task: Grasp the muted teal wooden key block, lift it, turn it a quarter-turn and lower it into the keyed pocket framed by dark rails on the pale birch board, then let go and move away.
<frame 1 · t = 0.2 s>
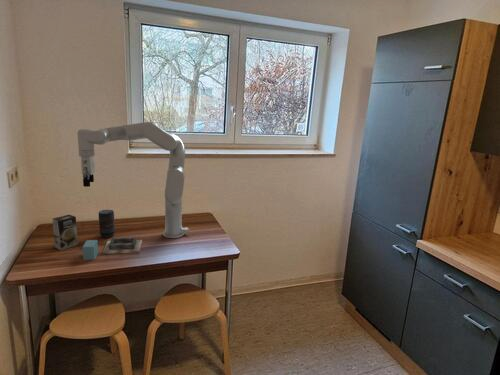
hand: (88, 184, 180), 31 cm above the table, tool pointing down, fingers open, 9 cm apart
camera lens: (107, 236, 190), on the table
keyed nest: (123, 247, 177), on the table
key block: (91, 256, 166), on the table
coffee box: (66, 246, 175), on the table
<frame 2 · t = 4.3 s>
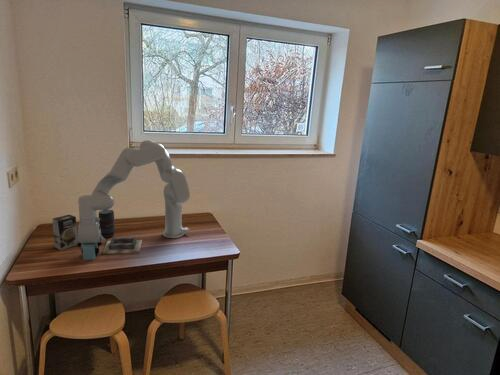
hand: (90, 254, 165), 1 cm above the table, tool pointing down, fingers closed on key block, 5 cm apart
key block: (90, 256, 166), on the table, touching gripper
everything else where it was.
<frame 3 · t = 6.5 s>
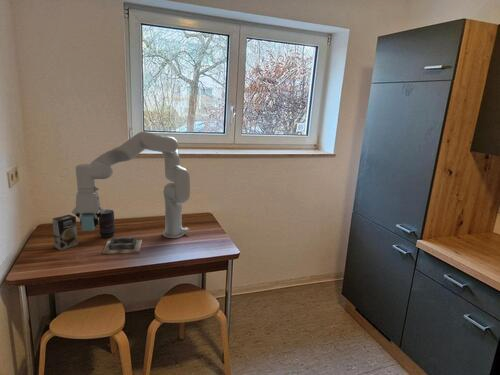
hand: (89, 225, 162), 16 cm above the table, tool pointing down, fingers closed on key block, 5 cm apart
key block: (89, 227, 162), point 15 cm above the table, touching gripper
everything else where it was.
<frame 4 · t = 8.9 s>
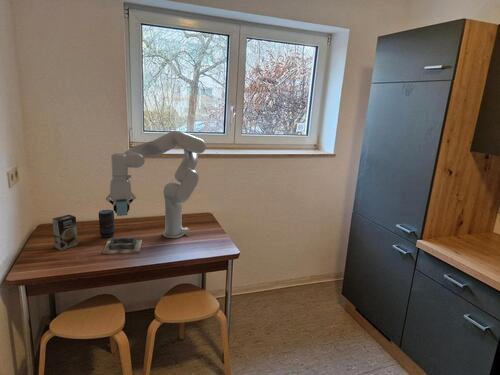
hand: (121, 211, 172), 20 cm above the table, tool pointing down, fingers closed on key block, 5 cm apart
key block: (121, 213, 172), point 19 cm above the table, touching gripper
everything else where it was.
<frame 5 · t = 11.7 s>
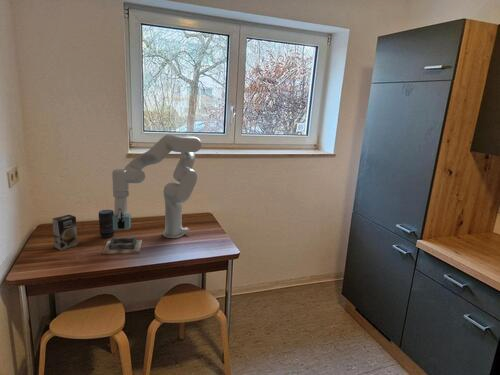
hand: (122, 226, 174), 12 cm above the table, tool pointing down, fingers closed on key block, 5 cm apart
key block: (122, 227, 174), point 11 cm above the table, touching gripper
everything else where it was.
when the fingers open (4 cm above the table, at t = 13.8 s): key block drops 2 cm, resting on keyed nest.
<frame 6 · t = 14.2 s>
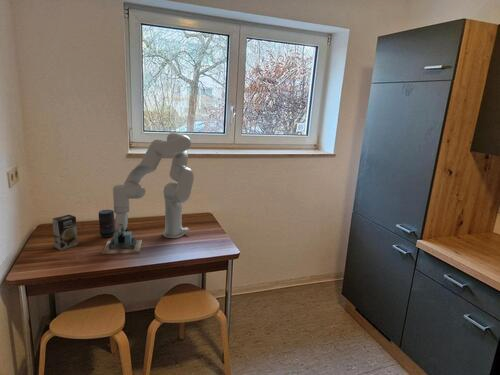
hand: (123, 239, 176), 5 cm above the table, tool pointing down, fingers open, 8 cm apart
key block: (123, 245, 177), point 1 cm above the table, touching keyed nest
everything else where it was.
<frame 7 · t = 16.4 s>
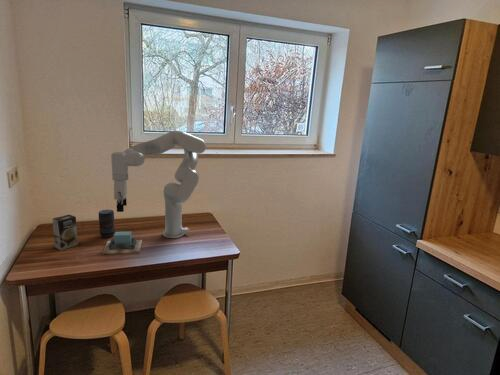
hand: (121, 208, 172), 22 cm above the table, tool pointing down, fingers open, 9 cm apart
nothing on the table moved.
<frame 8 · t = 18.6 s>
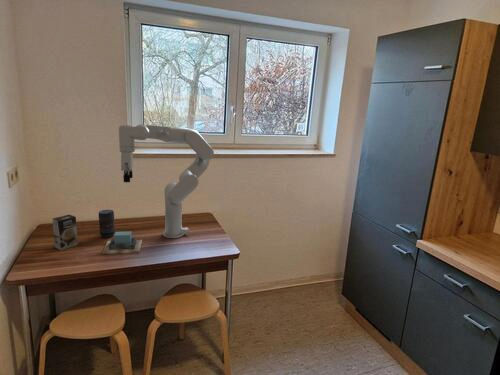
hand: (128, 180, 180), 34 cm above the table, tool pointing down, fingers open, 9 cm apart
nothing on the table moved.
at the end: key block 0.1 cm off-centre on the keyed nest, point 1.0 cm above the keyed nest's base; key block tilted 0°; the gripper is holding nothing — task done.
